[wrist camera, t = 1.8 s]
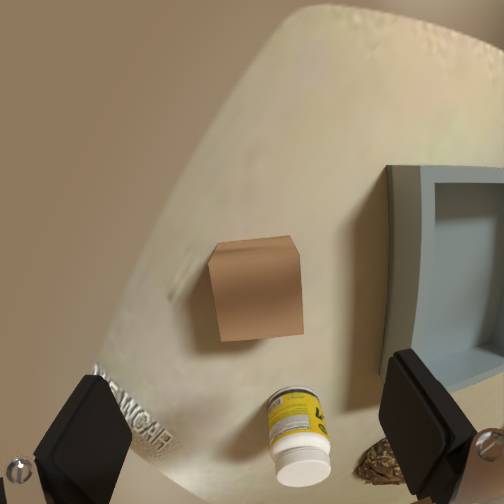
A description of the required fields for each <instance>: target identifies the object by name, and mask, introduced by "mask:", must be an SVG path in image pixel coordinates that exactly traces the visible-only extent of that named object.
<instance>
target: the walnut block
mask: <svg viewBox="0 0 504 504" xmlns="http://www.w3.org/2000/svg"><path fill="white" fill-rule="evenodd" d="M208 266H209V273H210V279H211V285H212V291H213V297H214V303H215V309H216V315H217V321H218V326H219V332H220V337H221V342H225V341H239V340H252V339H263V338H273V337H283V336H292V335H301V334H304V326H303V304H302V286H301V269H300V254H299V252H298V250H297V248H296V246H295V245H294V243H293V241H292V239H291V237H290V235H289V236H280V237H270V238H260V239H250V240H241V241H231V242H222V243H218V245H217V247H216V249H215V251H214V253H213V255H212V257H211V259H210V261H209V263H208Z"/></svg>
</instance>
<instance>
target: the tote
mask: <svg viewBox="0 0 504 504" xmlns="http://www.w3.org/2000/svg"><path fill="white" fill-rule="evenodd" d="M386 170H387V186H388V210H389V265H388V289H387V305H386V318H385V329H384V339H383V347H382V356H381V363H380V371H379V375H380V377H381V379H382V381H383V382H384V384H385V378H386V373H387V366H388V360H389V358H390V357H393V354H394V352H396V351H400V350H404V349H408V348H412V349H413V350H414V351H415V353H416V354H417V355H418V357H419V358H420V359H421V360H422V362H423V363H424V364H425V365H426V367H427V368H428V369H429V371H430V372H431V373H432V374H433V376H434V377H435V378H436V380H438V381H439V382H440V383H441V384H442V385H443V386H444V387H445V389H446V390H447V391H448V393H452V392H455V391H458V390H460V389H463V388H466V387H468V386H471V385H473V384H476V383H478V382H481V381H483V380H485V379H488V378H490V377H492V376H495V375H497V374H499V373H501V372H503V371H504V168H493V167H475V166H448V165H386Z"/></svg>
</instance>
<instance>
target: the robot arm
mask: <svg viewBox="0 0 504 504" xmlns="http://www.w3.org/2000/svg"><path fill="white" fill-rule="evenodd" d="M379 422H380V424H381V426H382V429H383V431H384V433H385V435H386V438H387V440H388V442H389V444H390V447H391V449H392V451H393V454H394V456H395V458H396V460H397V463H398V465H399V467H400V470H401V472H402V475H403V477H404V479H405V482H406V484H407V487H408V489H409V491H410V493H411V494H412V495H415V494H416V496H417V499H418V501H419V500H422V499H424V498H427V497H429V496H430V498H431V500H432V502H433V503H434V504H504V431H503V430H501V429H497V428H488V429H484V430H482V431H480V432H479V433H477V431H476V430H475V428H474V427H473V426H472V424H471V423H470V421H469V420H468V419H467V417H466V416H465V414H464V413H463V412H462V410H461V409H460V408H459V406H458V405H457V403H456V402H455V401H454V399H453V398H452V397H451V395H450V394H449V393H448V391H447V390H446V389H445V387H444V386H443V385H442V384H441V383H440V382H439V381H438V380H436V378H435V377H434V376H433V374H432V373H431V372H430V371H429V369H428V368H427V367H426V365H425V364H424V363H423V362H422V360H421V359H420V358H419V357H418V355H417V354H416V353H415V351H414V350H413V349H412V348H408V349H404V350H400V351H396V352H394V354H393V357H390V358H389V360H388V366H387V373H386V378H385V384H384V390H383V395H382V400H381V405H380V409H379ZM131 441H132V432H131V430H130V428H129V426H128V424H127V422H126V420H125V418H124V416H123V414H122V412H121V410H120V408H119V406H118V404H117V402H116V399H115V397H114V395H113V393H112V391H111V388H110V386H109V384H108V382H107V381H106V380H104V379H103V377H102V376H99V375H85V376H84V377H83V378H82V380H81V381H80V383H79V384H78V385H77V387H76V388H75V390H74V391H73V393H72V394H71V396H70V397H69V399H68V400H67V402H66V403H65V405H64V406H63V408H62V409H61V411H60V412H59V414H58V415H57V417H56V418H55V420H54V421H53V423H52V424H51V426H50V428H49V429H48V431H47V432H46V434H45V436H44V437H43V439H42V440H41V442H40V443H39V445H38V447H37V448H36V450H35V452H34V456H35V457H36V458H35V460H34V461H33V460H32V458H30V457H28V456H23V455H21V456H16V457H14V458H12V459H11V460H9V461H8V462H7V463H6V465H5V466H4V469H3V477H1V478H0V504H109V502H110V499H111V496H112V493H113V490H114V488H115V484H116V482H117V479H118V477H119V474H120V471H121V468H122V465H123V463H124V460H125V457H126V454H127V452H128V449H129V446H130V444H131Z"/></svg>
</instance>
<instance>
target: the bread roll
mask: <svg viewBox="0 0 504 504" xmlns="http://www.w3.org/2000/svg"><path fill="white" fill-rule="evenodd" d="M356 473H357V474H358V475H359V476H361V477H363V478H365V479H368V480H372V481H373V482H372V484H373V485H387V484H396V485H399V484H405V483H406V482H405V479H404V477H403V475H402V472H401V470H400V467H399V465H398V463H397V460H396V458H395V456H394V454H393V451H392V449H391V447H390V444H389V442H388V440H387V438H384V439H382V440H380V441H379V442H377V443H376V444H374V445H373V446H372V447H371V448H370V450H369V451H368V453H367V455H366V459H365V462H364V463H363V465H361V466H359V467H358V469H357V471H356Z"/></svg>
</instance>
